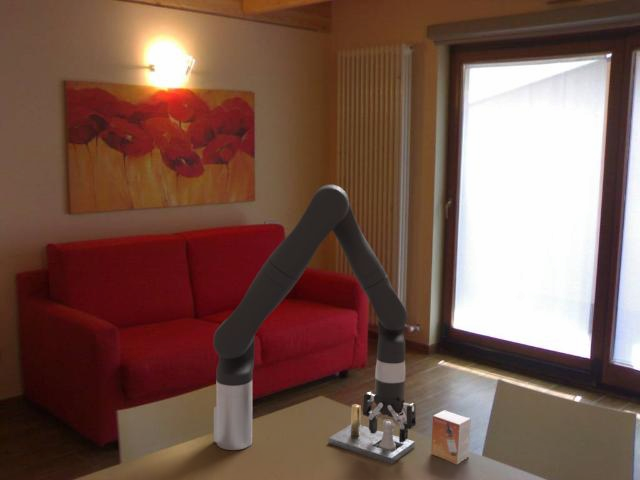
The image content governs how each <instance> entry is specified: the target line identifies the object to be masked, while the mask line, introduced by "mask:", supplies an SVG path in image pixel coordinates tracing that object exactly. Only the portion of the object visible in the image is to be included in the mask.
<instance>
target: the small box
mask: <svg viewBox="0 0 640 480" xmlns="http://www.w3.org/2000/svg"><path fill="white" fill-rule="evenodd" d="M471 421H472V419H471V417H467V416H463V415H460V414H457V413H454V412H451V411H448V410H446V409H445V410H441V411H440V412H438V413H435V414H433V416H432V428H431V429H432V430H431V440H430V441H431V445H430V454H431V455H433V456H436V457H439V458H441V459H444V460H445V461H447V462H450V463H453V464H454V465H459V464H460V463H462V462H463V461H465V460H466V459H468V458H469V457H470V440H471V423H472V422H471ZM467 457H468V458H467ZM464 459H465V460H464ZM461 461H462V462H461Z"/></svg>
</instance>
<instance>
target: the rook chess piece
mask: <svg viewBox="0 0 640 480" xmlns="http://www.w3.org/2000/svg"><path fill="white" fill-rule="evenodd" d="M381 426H382V428H383V429H382V432H383V438H382V440H381V442H380V444H379V447H378V448H380V449H384V450H387V451H390V452H394V451H395V450H396V449H397V447H396V444H395V443H394V440H393V435H394V433H393V432H394V429H393V428H394V427H395V423H394V420H393V419H389V418H386V419H384V420H383V422H382V423H381Z"/></svg>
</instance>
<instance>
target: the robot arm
mask: <svg viewBox="0 0 640 480" xmlns="http://www.w3.org/2000/svg"><path fill="white" fill-rule="evenodd" d="M331 232H333V234H334V236H335V237H336V239H337V241H338V242H339V245H340V246H341V249H342V250H343V253H344V255H345V258H346V260H347V262H348V265H349V267H350V268H351V271H352V273H353V275H354V276H355V278H356V281H357V282H358V284H359V286H360V287H361V289H362V290H363V292H364V294H365V295H366V296H367V298H368V300H369V303H370V304H371V306H372V309H373V310H374V313H375V314H376V317H377V325H378V327H377V328H378V329H377V330H378V340H377V349H376V350H377V351H376V363H375V364H376V365H375V376H374V377H375V379H374V383H375V384H374V392H373V391H371V390H370V391H368V392H366V393H364V395H363V405H362V415H363V416H364V417H367V418H368V428H369V430H370V433H372V434H374V433H376V432H377V430H378V418H377V417H378V416H379V415H380V414H381V415H383V416H388V417H390V418H393V419H394V421H395V422H396V423H397V424H398V425H399V427H400V428H399V436H398V437H399V442H401V443H403V442H405V440H407V439H408V435H409V430H411V429H413V427H415V426H416V424H417V419H416V415H417V414H416V413H417V411H416V410H417V409H416V408H417V407H416V403H414V402H411V403H408V402H406V401H405V388H406V340H405V325H406V324H407V322H408V311H407V307H406V305H405V303H404V301H402V300H401V299H400V298H399V296H398V294H397V293H396V291H395V290H394V287H393V286H392V284H391V283H392V282H391V281H390V278H389V276H388V275H387V272H386V271H385V269H384V266H383V265H382V263H381V262H380V260H379V259H378V257H377V255H376V253H375V252H374V250H373V248H372V247H371V246H370V244H369V242H368V241H367V239H366V237H365V236H364V233H363V232H362V230H361V227H360V226H359V223H358V221H357V219H356V217H355V214H354V211H353V209H352V206H351V203H350V197H349V196H348V194H347V192H346V191H345V190H344V189H343V188H342V187H341V186H339V185H336V184H325V185H323V186H321V187H319V188H318V189H317V190H316V192H315V193H314V194H313V196H312V198H311V200H310V202H309V204H308V206H307V207H306V209H305V210H304V213H303V214H302V216H301V218H300V219H299V220H298V222H297V224H296V225H295V227H294V228H293V229H292V231H291V232H290V233H289V234H288V235H287V236H286V237H285V238H284V239H283V240H282V241H281V242H280V243H279V245H277V247H276V248H275V249H274V250H273V251H272V253H271V254H270V255H269V256H268V258H267V260H266V261H265V262H264V263H263V264H262V266H261V268H260V270H259V271H258V272H257V274H256V276H255V278H253V280H252V282H251V283H250V286H249V287H248V288H247V291H246V293H245V295H244V297H243V298H242V299H241V300H240V301H241V302H240V303H239V304H238V306H237V307H236V308H235V309H234V310H233V312H231V314H230V315H229V316H228V317H227V318H226V319H224V320H223V322H222V323H221V324H220V325H219V326H218V327H217V328H216V330H215V333H214V335H213V340H212V341H213V348H214V350H215V352H216V354H217V355H218V356H219V357H218V363H217V367H216V372H215V374H216V377H215V379H216V383H215V384H216V388H215V389H216V405H215V406H214V407H213V442H214V443H215V444H216V446H218V448H220V449H223V450H225V451H226V450H228V451H238V450H239V451H240V450H244V449H247V448H249V447H250V446H251V445H252V444H253V371H254V368H255V367H254V366H255V339H256V338H255V337H256V336H255V335H256V334H257V332H258V330H259V328H260V327H261V325H262V324H263V323H264V321H265V320H266V319H267V318H268V316H269V315H271V313H272V312H273V311H275V309H276V308H277V307H278V306H279V305H280V304H281V302H282V301H283V300H284V299H285V298H286V297H287V295H288V294H289V293H290V292H291V291H292V290H293V288H294V287H295V285H296V284H297V283H298V281H299V280H300V279H301V277H302V275H303V274H304V272H305V270H306V269H307V267H308V266H309V264H310V262H311V260H313V259H312V258H313V257H314V255H315V253H316V251H317V250H318V248H319V247H320V246H321V244H322V243H323V242H324V241H325V239H326V238H327V237H328V235H330V233H331ZM373 401H374V403H375V405H376V407H374V409H373ZM372 409H373V410H372ZM404 410H405V411H404Z"/></svg>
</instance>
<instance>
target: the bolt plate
mask: <svg viewBox="0 0 640 480" xmlns="http://www.w3.org/2000/svg"><path fill="white" fill-rule="evenodd" d="M361 409H362V406H361V404H358V403H354V404H352V405H351V416H350V417H351V418H350V419H351V420H350V424H349V425H348V426H346V427H345V428H343V429H341V430H340V431H338V432H336V433H334V434H332V435H331V436H329V437H328V444H330V445H332V446H336V447H339V448H342V449H345V450H348V451H351V452H353V453H356V454H360V455H362V456H366V457H369V458H372V459H375V460H377V461H381V462H383V463H386V464H390V465H393V464H394V463H395V462H396V461H398V460H399V459H400V458H402V457H403V456H405V454H407V453H408V452H411V451H412V450H413V449H414V448H416V447H415V445H416V441H414V440H412V439H408V438H407V440H405V442H403V443H401V442H399V436H397V435H394V434H393V440H394V443H395V444H396V447H395V448H396V450H395V451H394V452H390V451H387V450H384V449H380V448H379V447H380V446H379V444H380V442H381V440H382V438H383V430H382V431H381V430H378V429H377V432H376V433H374V434H372V433H370V430H369V426H365V425H361V418H362V417H361V413H362V410H361Z"/></svg>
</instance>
